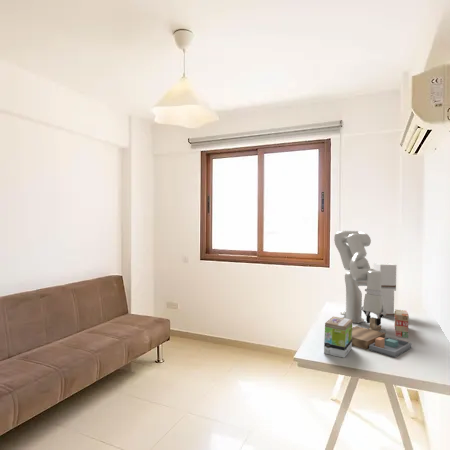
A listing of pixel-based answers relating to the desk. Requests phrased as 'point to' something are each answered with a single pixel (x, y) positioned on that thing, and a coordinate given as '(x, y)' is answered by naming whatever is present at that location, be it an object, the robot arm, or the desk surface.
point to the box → (392, 351)
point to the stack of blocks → (401, 323)
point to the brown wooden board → (364, 337)
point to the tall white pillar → (387, 286)
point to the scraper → (374, 324)
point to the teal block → (391, 343)
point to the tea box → (338, 336)
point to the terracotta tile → (380, 342)
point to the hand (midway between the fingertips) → (373, 323)
